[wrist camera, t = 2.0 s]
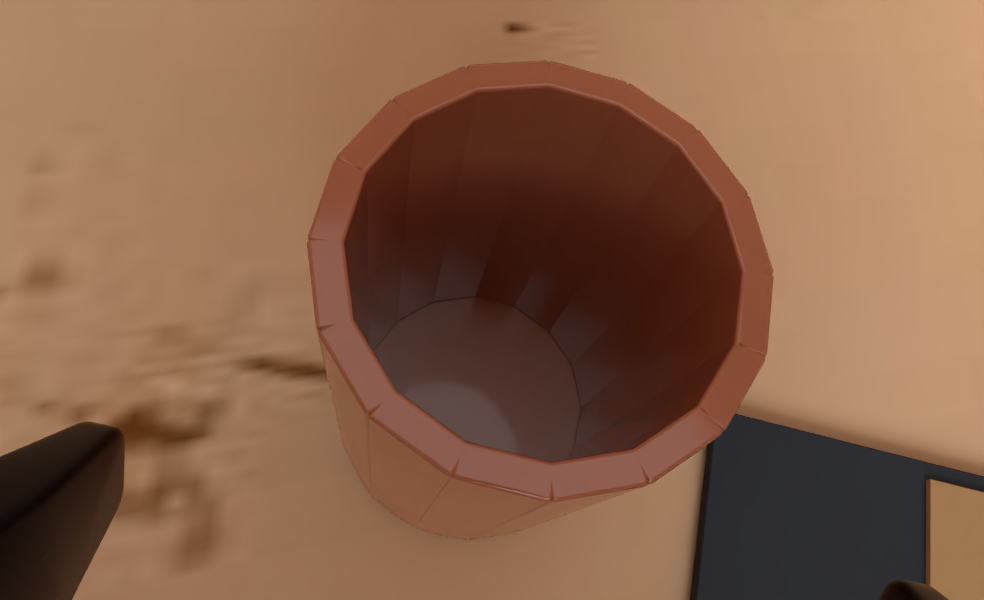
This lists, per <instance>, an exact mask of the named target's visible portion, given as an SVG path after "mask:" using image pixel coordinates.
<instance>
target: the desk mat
mask: <svg viewBox="0 0 984 600" xmlns="http://www.w3.org/2000/svg"><path fill="white" fill-rule="evenodd" d="M897 579H902V580H907V581H912V582H917V583H922V584H926V585H929V586H931V587H933V588H934V589H936V590H937V591H938V592H940V593H941V594H942V595H943V596H945V597H946V598H947V599H949V600H984V477H983V476H979V475H975V474H971V473H967V472H963V471H959V470H955V469H951V468H947V467H943V466H939V465H935V464H931V463H927V462H923V461H920V460H916V459H912V458H908V457H904V456H900V455H896V454H892V453H888V452H884V451H880V450H876V449H872V448H868V447H864V446H860V445H856V444H852V443H848V442H844V441H840V440H836V439H833V438H829V437H825V436H821V435H817V434H813V433H809V432H805V431H801V430H797V429H793V428H789V427H785V426H781V425H777V424H773V423H769V422H765V421H761V420H757V419H753V418H749V417H746V416H742V415H738V414H735V415H734V416H733V418H732V420H731V422H730V423H729V425H728V427H727V429H726V430H725V431H723V432H722V434H721V436H720V437H718V438H717V439H715V440H714V441H712V442H711V443H709V444H708V450H707V459H706V468H705V477H704V486H703V495H702V504H701V513H700V522H699V532H698V541H697V550H696V559H695V568H694V577H693V586H692V595H691V600H878V599H879V597H880V596H881V594H882V592H883V590H884V589H885V587H886V586H887V584H889V583H890V582H891V581H893V580H897Z"/></svg>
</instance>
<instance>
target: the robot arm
mask: <svg viewBox="0 0 984 600" xmlns="http://www.w3.org/2000/svg"><path fill="white" fill-rule="evenodd" d="M124 458H125V437H124V433H123V431H122V430H121V429H120V428H118V427H114V426H109V425H104V424H99V423H94V422H82V423H79V424H76V425H74V426H71V427H69V428H66V429H64V430H62V431H59V432H57V433H55V434H52V435H50V436H48V437H45V438H43V439H41V440H38V441H36V442H34V443H31V444H29V445H27V446H24V447H22V448H20V449H17V450H15V451H13V452H10V453H8V454H6V455H3V456H1V457H0V600H72V598H73V596H74V594H75V592H76V590H77V588H78V586H79V584H80V582H81V580H82V578H83V576H84V574H85V572H86V571H87V569H88V567H89V565H90V563H91V561H92V559H93V557H94V555H95V553H96V551H97V549H98V547H99V545H100V543H101V541H102V539H103V537H104V535H105V533H106V531H107V529H108V527H109V525H110V523H111V521H112V519H113V517H114V515H115V513H116V511H117V509H118V507H119V504H120V501H121V498H122V494H123V487H124ZM878 600H949V599H947V598H946V597H945V596H943V595H942V594H941V593H940V592H938V591H937V590H936V589H934V588H933V587H931V586H929V585H926V584H922V583H917V582H912V581H907V580H902V579H897V580H893V581H891V582H890V583H889V584H887V586H886V587H885V589H884V590H883V592H882V594H881V596H880V597H879V599H878Z"/></svg>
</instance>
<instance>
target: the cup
mask: <svg viewBox="0 0 984 600" xmlns="http://www.w3.org/2000/svg"><path fill="white" fill-rule="evenodd" d="M307 248H308V257H309V266H310V276H311V285H312V294H313V303H314V313H315V322H316V329H317V333H318V338H319V342H320V346H321V351H322V355H323V359H324V364H325V368H326V372H327V377H328V381H329V385H330V390H331V394H332V399H333V403H334V407H335V412H336V416H337V420H338V425H339V429H340V433H341V438H342V442H343V446H344V449H345V451H346V453H347V455H348V456H349V458H350V460H351V462H352V464H353V466H354V468H355V470H356V472H357V474H358V476H359V477H360V479H361V480H362V482H363V483H364V485H365V486H366V488H367V489H368V491H369V493H371V494H372V496H373V497H374V498H376V499H377V500H378V502H380V503H381V504H382V505H383V506H384V507H385V508H387V509H388V510H389V511H390V512H391V513H393V514H394V515H396V516H397V517H399V518H400V519H402V520H403V521H405V522H406V523H408V524H410V525H412V526H415V527H416V528H418V529H421V530H424V531H427V532H430V533H433V534H437V535H440V536H446V537H452V538H460V539H465V540H467V539H469V540H473V539H478V538H485V537H493V536H497V535H500V534H506V533H511V532H517V531H520V530H523V529H526V528H529V527H532V526H535V525H537V524H540V523H543V522H546V521H549V520H552V519H554V518H557V517H560V516H563V515H566V514H568V513H571V512H574V511H577V510H580V509H583V508H585V507H588V506H591V505H594V504H597V503H599V502H602V501H605V500H608V499H611V498H614V497H616V496H619V495H622V494H625V493H628V492H630V491H633V490H636V489H639V488H642V487H644V486H646V485H649V484H652V483H653V482H655V481H656V480H658V479H659V478H661V477H662V476H664V475H665V474H666V473H668V472H669V471H671V470H672V469H674V468H675V467H676V466H678V465H679V464H681V463H682V462H684V461H685V460H687V459H688V458H689V457H691V456H692V455H694V454H695V453H697V452H698V451H699V450H701V449H702V448H704V447H705V446H707V445H708V444H709V443H711V442H712V441H714V440H715V439H717V438H718V437H720V436H721V434H722V432H723V431H725V430H726V429H727V427H728V425H729V423H730V422H731V420H732V418H733V416H734V415H735V413H736V411H737V409H738V408H739V406H740V404H741V402H742V400H743V399H744V397H745V395H746V393H747V392H748V390H749V388H750V386H751V385H752V383H753V381H754V379H755V378H756V376H757V374H758V372H759V371H760V369H761V367H762V365H763V363H764V361H765V356H766V355H767V347H768V335H769V323H770V312H771V300H772V289H773V275H772V274H773V269H772V266H771V263H770V260H769V257H768V253H767V250H766V247H765V244H764V241H763V238H762V234H761V231H760V228H759V225H758V222H757V219H756V215H755V212H754V209H753V206H752V203H751V200H750V197H749V196H747V191H746V190H745V189H744V188H743V186H742V185H741V184H740V182H739V181H738V180H737V179H736V177H735V176H734V175H733V173H732V172H731V171H730V169H729V168H728V167H727V166H726V164H725V163H724V162H723V160H722V159H721V158H720V157H719V155H718V154H717V153H716V151H715V150H714V149H713V147H712V146H711V145H710V144H709V142H708V141H707V140H706V138H705V137H704V136H703V135H702V133H701V132H700V131H699V130H696V128H695V127H694V126H693V125H691V124H690V123H688V122H687V121H685V120H684V119H682V118H681V117H679V116H678V115H676V114H675V113H673V112H672V111H670V110H669V109H667V108H666V107H664V106H663V105H661V104H660V103H658V102H657V101H655V100H654V99H652V98H651V97H649V96H648V95H646V94H645V93H643V92H642V91H640V90H639V89H637V88H636V87H634V86H633V85H631V84H628V85H627V83H626V82H625V81H621V80H618V79H614V78H610V77H607V76H603V75H600V74H596V73H592V72H589V71H585V70H581V69H578V68H574V67H571V66H567V65H563V64H560V63H556V62H553V61H549V63H548V62H547V61H528V62H512V63H495V64H478V65H469V66H467V67H461V68H459V69H457V70H454V71H452V72H450V73H448V74H445V75H443V76H441V77H438V78H436V79H434V80H432V81H429V82H427V83H425V84H423V85H420V86H418V87H416V88H414V89H411V90H409V91H407V92H405V93H402V94H400V95H398V96H396V97H394V98H393V100H390V101H389V102H388V103H387V104H386V105H385V106H384V107H383V108H382V109H381V110H380V111H379V112H378V113H377V114H376V115H375V116H374V118H373V119H372V120H371V121H370V122H369V123H368V124H367V125H366V126H365V127H364V128H363V129H362V130H361V131H360V132H359V133H358V134H357V135H356V137H355V138H354V139H353V140H352V141H351V142H350V143H349V144H348V145H347V146H346V147H345V148H344V149H343V150H342V151H341V152H340V153H339V155H338V156H337V158H336V160H335V161H334V162H333V164H332V167H331V170H330V173H329V176H328V179H327V182H326V185H325V188H324V191H323V194H322V196H321V199H320V202H319V205H318V208H317V211H316V214H315V217H314V220H313V223H312V226H311V229H310V232H309V235H308V243H307Z"/></svg>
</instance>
